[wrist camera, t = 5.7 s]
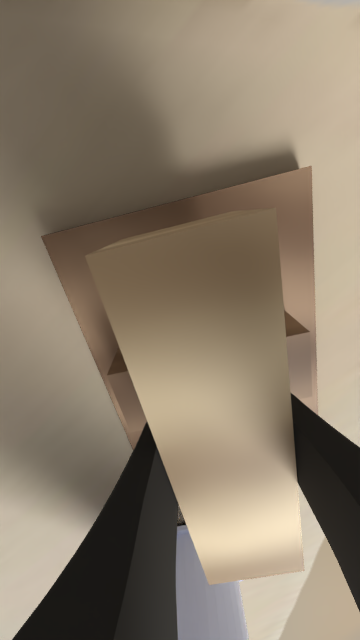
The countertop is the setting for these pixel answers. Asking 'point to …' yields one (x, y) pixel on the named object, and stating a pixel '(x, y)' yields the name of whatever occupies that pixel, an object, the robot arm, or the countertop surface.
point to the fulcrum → (271, 192)
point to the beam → (213, 381)
